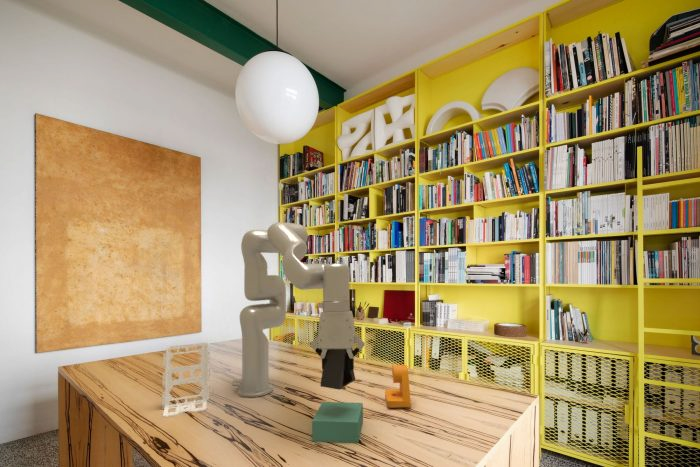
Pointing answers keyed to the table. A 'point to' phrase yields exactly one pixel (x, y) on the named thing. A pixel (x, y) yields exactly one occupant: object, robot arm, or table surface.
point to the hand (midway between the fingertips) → (338, 371)
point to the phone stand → (336, 370)
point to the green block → (338, 422)
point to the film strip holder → (185, 381)
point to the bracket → (399, 395)
